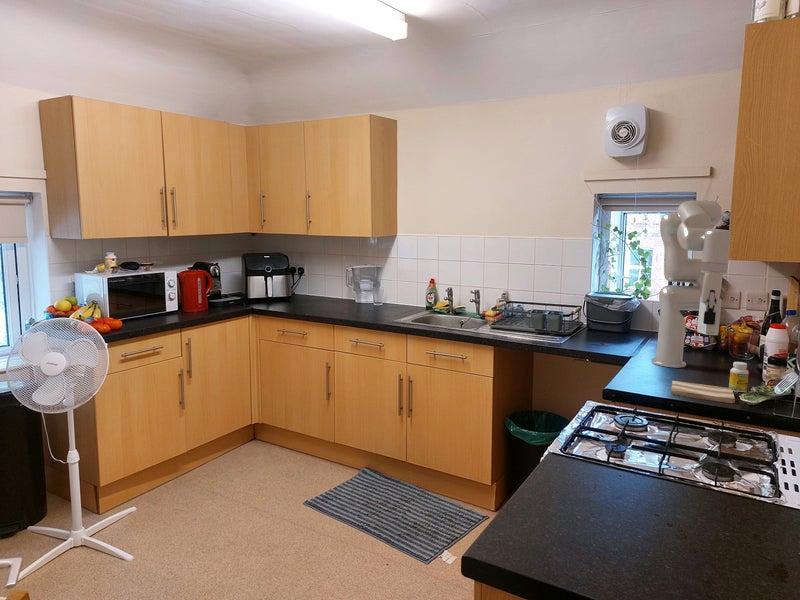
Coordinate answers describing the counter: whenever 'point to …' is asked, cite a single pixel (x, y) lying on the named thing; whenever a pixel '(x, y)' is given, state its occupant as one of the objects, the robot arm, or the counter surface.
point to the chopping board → (703, 391)
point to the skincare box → (708, 328)
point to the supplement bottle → (739, 377)
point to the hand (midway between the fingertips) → (708, 322)
